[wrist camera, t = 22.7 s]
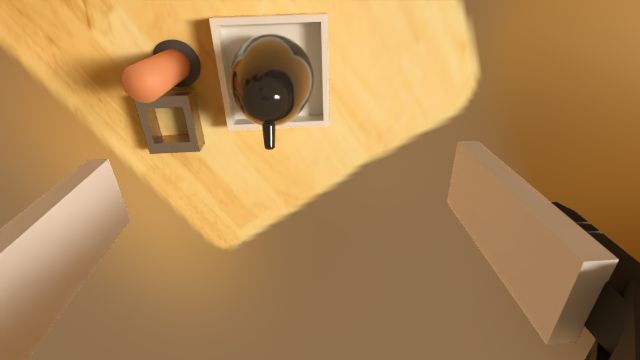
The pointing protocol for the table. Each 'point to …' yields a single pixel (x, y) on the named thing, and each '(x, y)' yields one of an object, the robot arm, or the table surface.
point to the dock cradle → (297, 27)
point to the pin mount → (172, 142)
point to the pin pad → (188, 52)
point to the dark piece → (271, 82)
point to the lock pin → (155, 75)
